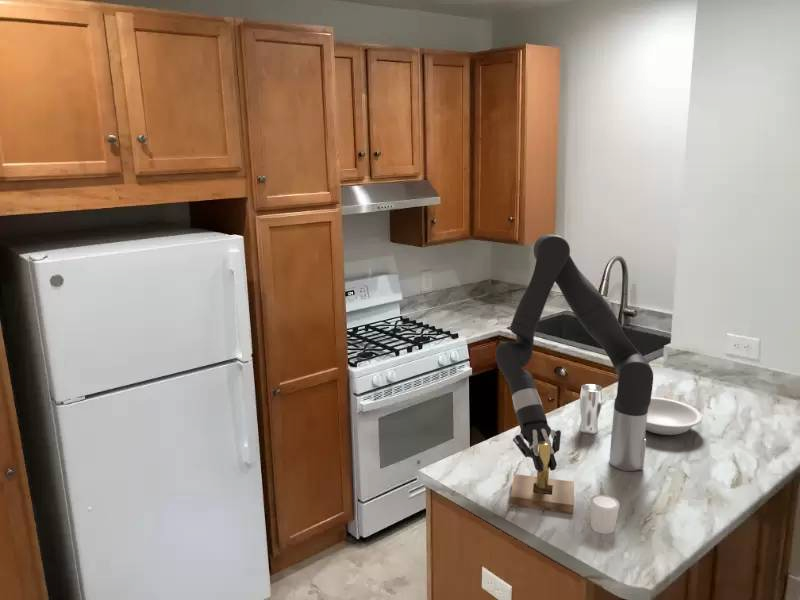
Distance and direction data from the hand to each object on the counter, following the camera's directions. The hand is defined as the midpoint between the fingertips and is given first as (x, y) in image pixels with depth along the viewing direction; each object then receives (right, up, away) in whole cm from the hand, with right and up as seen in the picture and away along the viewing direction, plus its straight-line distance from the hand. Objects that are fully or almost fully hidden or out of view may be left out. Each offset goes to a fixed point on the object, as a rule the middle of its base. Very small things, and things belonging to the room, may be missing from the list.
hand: (547, 470), depth 165 cm
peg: (-1, -5, +3) cm, 6 cm away
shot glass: (+12, -12, -9) cm, 19 cm away
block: (0, -8, +4) cm, 9 cm away
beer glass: (+24, +1, +44) cm, 50 cm away
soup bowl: (+48, +1, +45) cm, 66 cm away
